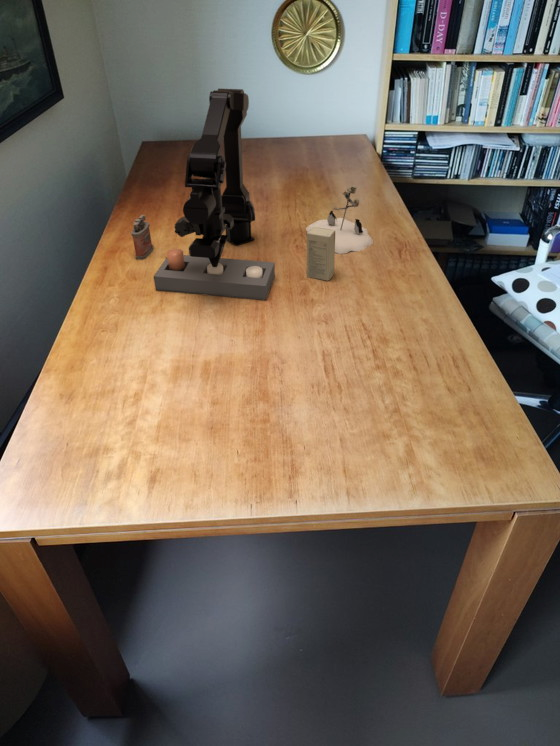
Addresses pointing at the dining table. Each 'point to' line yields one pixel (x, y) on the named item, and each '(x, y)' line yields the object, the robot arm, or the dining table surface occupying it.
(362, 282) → the dining table surface
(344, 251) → the figurine
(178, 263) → the terracotta button
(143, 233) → the lighter
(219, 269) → the button
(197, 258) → the button panel
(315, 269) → the skincare box
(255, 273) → the button
